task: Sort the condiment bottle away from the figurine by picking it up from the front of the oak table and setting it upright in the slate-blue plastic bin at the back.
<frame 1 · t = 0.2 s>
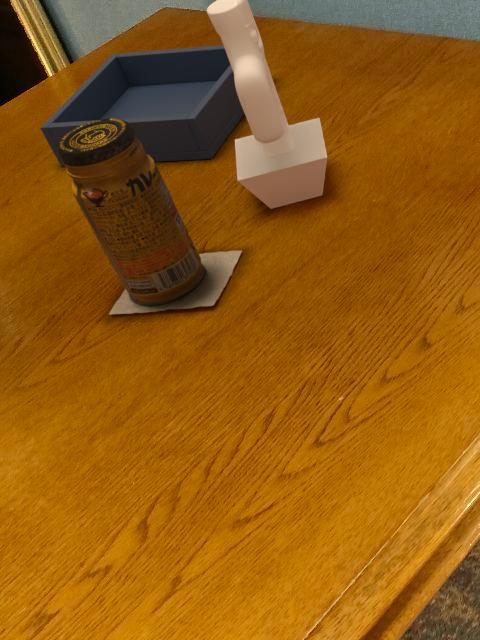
condiment: (179, 286, 77), on the table
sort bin: (167, 123, 96), on the table
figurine: (295, 191, 84), on the table
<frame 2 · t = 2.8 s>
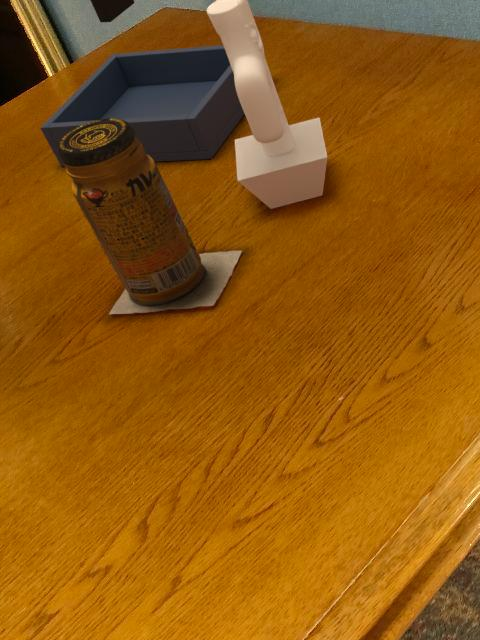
hand: (30, 16, 63), 19 cm above the table, tool pointing down, fingers open, 13 cm apart
nothing on the table moved.
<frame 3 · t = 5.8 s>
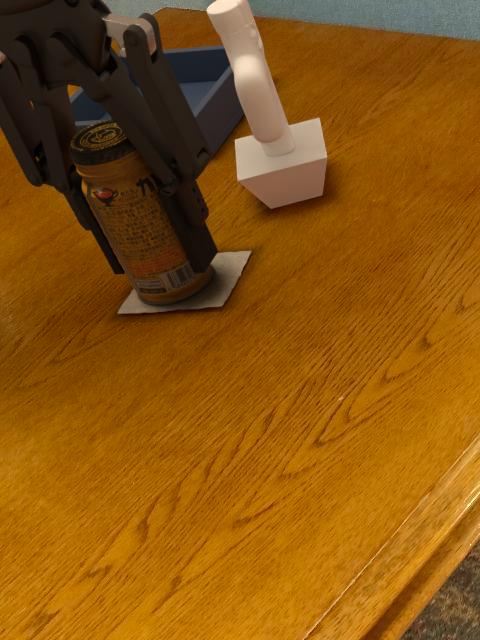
hand: (166, 262, 75), 2 cm above the table, tool pointing down, fingers closed on condiment, 6 cm apart
condiment: (187, 286, 76), on the table, touching gripper
everything else where it was.
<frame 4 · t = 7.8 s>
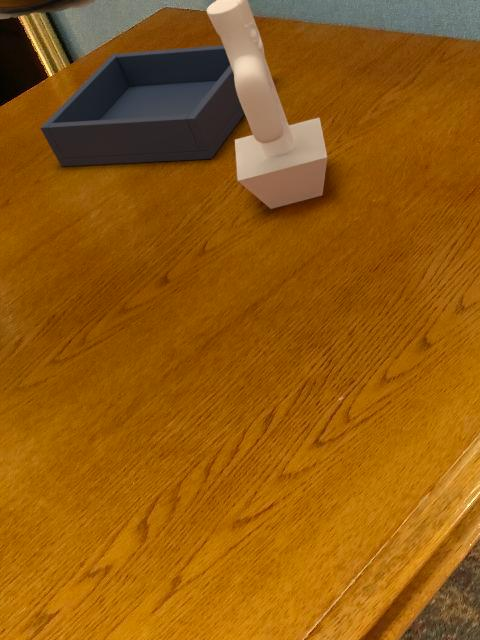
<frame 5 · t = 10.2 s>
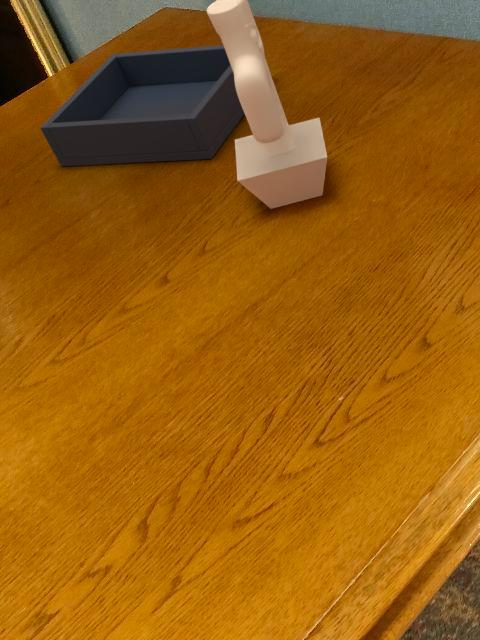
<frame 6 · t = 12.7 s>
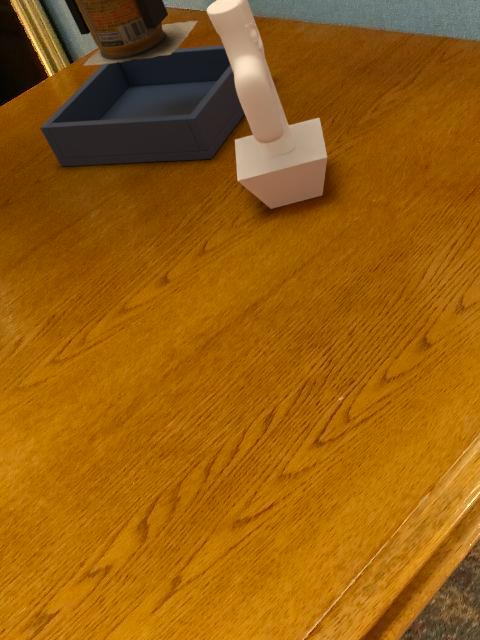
hand: (124, 24, 89), 9 cm above the table, tool pointing down, fingers closed on condiment, 6 cm apart
condiment: (143, 47, 90), point 7 cm above the table, touching gripper
everything else where it was.
when the fingers open (3 cm above the table, at t = 14.7 s): condiment stays where it is, resting on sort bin.
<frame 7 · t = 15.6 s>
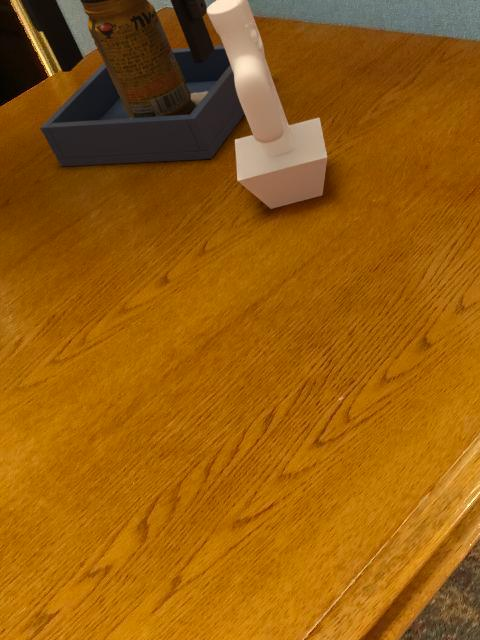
hand: (138, 61, 91), 6 cm above the table, tool pointing down, fingers open, 13 cm apart
condiment: (173, 116, 95), point 1 cm above the table, touching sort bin
everything else where it was.
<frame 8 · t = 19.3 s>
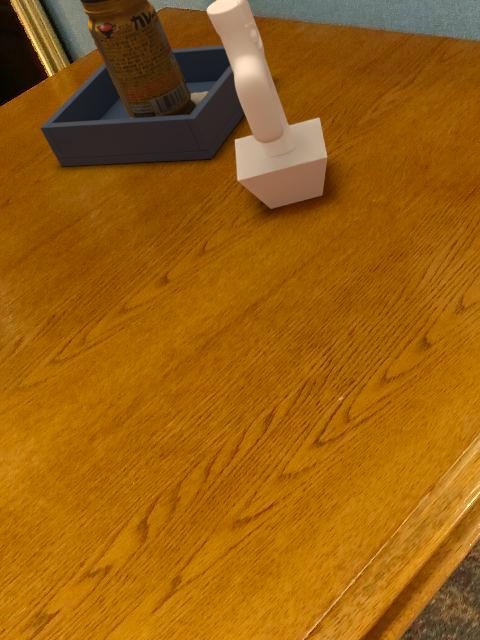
nothing on the table moved.
at the end: condiment inside the target area in the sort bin (0.9 cm from its centre), point 0.6 cm above the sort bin's base; condiment tilted 0°; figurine moved 0.2 cm from its start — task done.
